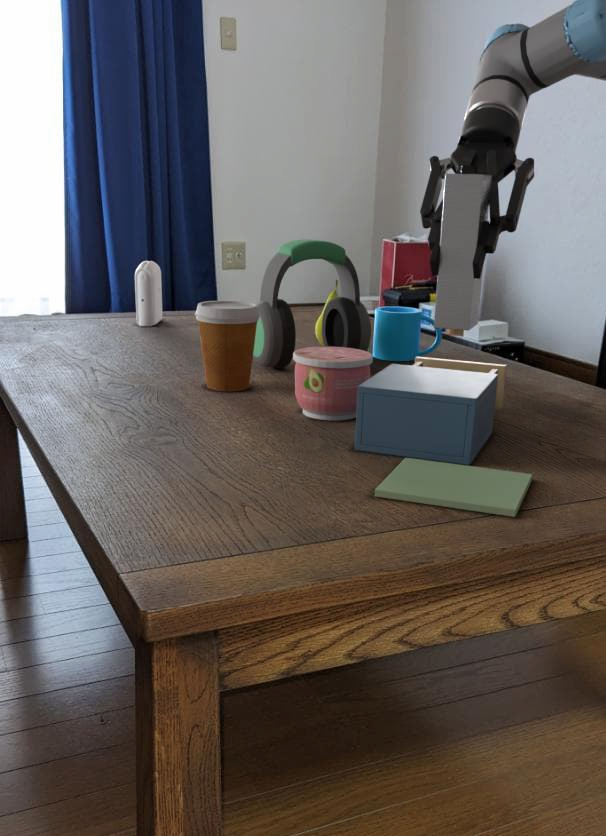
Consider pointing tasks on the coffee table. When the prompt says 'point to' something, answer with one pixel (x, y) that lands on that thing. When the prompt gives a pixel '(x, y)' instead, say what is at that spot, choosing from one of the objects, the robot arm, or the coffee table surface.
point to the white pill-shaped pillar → (148, 294)
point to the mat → (456, 486)
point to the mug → (400, 333)
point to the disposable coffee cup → (227, 342)
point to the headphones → (341, 315)
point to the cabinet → (426, 413)
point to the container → (330, 380)
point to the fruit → (319, 323)
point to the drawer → (471, 367)
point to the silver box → (461, 248)
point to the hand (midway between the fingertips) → (454, 269)
